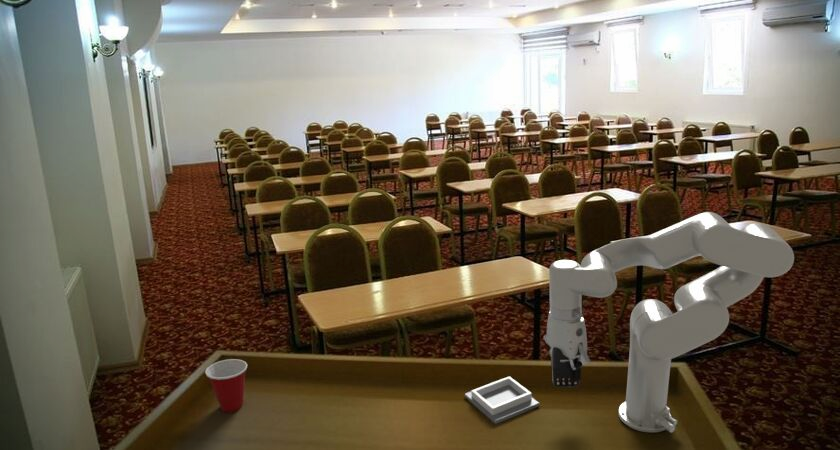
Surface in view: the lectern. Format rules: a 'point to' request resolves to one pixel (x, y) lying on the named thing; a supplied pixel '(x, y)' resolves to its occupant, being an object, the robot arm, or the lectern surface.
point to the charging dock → (502, 399)
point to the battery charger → (561, 369)
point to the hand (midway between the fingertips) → (565, 374)
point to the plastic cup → (228, 383)
